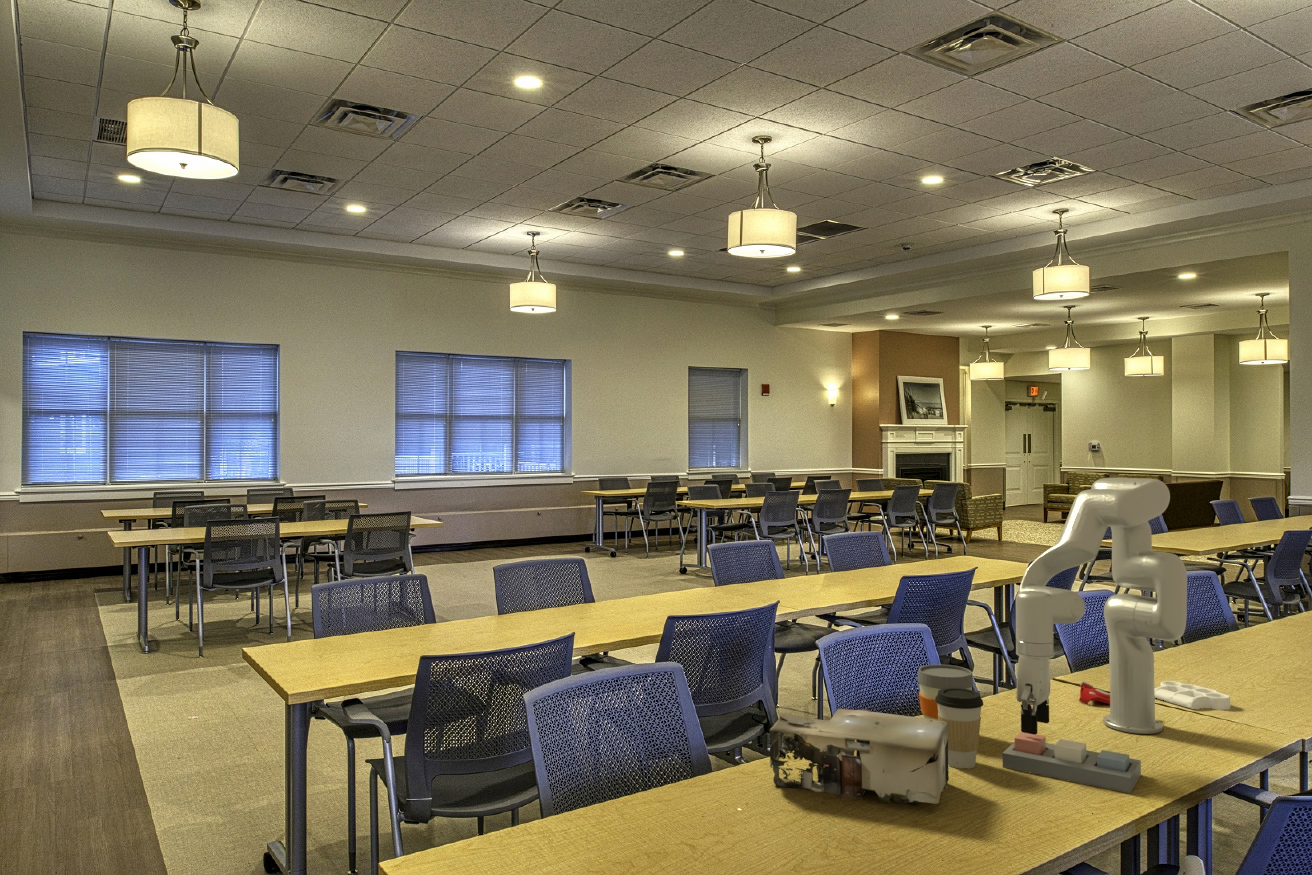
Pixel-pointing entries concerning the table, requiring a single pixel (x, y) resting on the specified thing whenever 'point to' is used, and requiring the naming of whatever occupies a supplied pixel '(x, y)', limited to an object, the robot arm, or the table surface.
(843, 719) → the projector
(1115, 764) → the slate-blue key
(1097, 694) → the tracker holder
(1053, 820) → the table surface
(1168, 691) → the white egg tray
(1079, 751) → the off-white key
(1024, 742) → the brick-red key
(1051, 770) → the keypad base
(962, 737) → the coffee cup
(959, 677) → the reusable coffee cup
